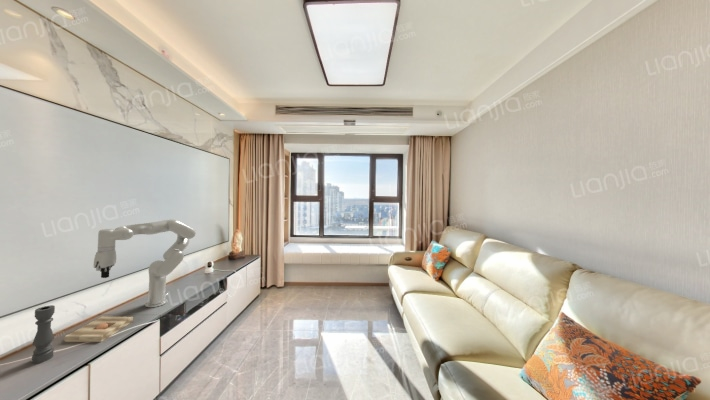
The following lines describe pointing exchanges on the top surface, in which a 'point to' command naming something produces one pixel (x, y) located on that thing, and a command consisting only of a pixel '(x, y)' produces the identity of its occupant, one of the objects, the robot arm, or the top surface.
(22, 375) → the top surface
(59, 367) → the top surface
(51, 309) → the candle holder
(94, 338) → the board
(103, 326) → the ball
